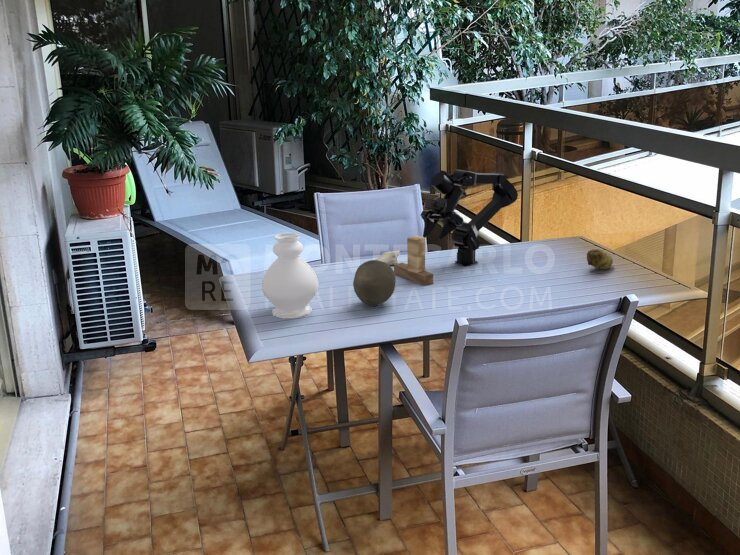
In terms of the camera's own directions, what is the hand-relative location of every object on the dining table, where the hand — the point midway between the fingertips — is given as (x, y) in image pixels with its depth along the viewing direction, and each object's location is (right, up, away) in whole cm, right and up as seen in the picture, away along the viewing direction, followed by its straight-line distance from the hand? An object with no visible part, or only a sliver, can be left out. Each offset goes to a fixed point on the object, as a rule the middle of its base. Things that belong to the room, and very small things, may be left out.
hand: (431, 238), depth 266 cm
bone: (-18, -11, +12) cm, 24 cm away
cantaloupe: (-21, -23, -26) cm, 41 cm away
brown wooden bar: (-7, -14, 0) cm, 16 cm away
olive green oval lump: (+62, -11, +5) cm, 63 cm away
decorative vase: (-47, -25, -30) cm, 61 cm away
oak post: (-6, -12, -3) cm, 13 cm away
